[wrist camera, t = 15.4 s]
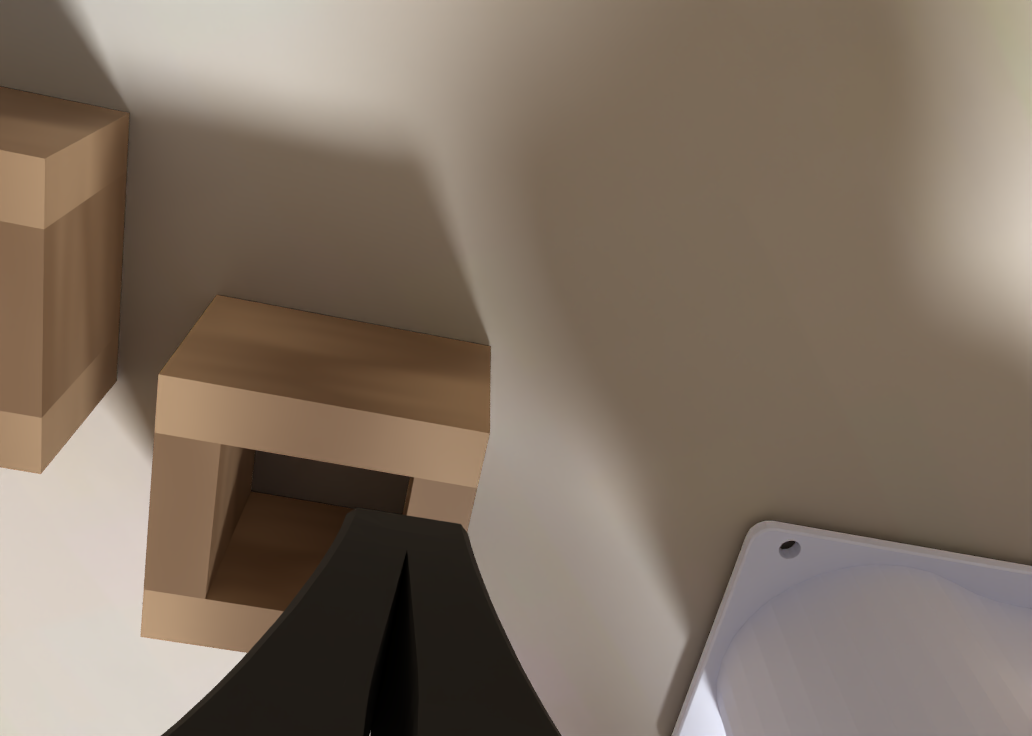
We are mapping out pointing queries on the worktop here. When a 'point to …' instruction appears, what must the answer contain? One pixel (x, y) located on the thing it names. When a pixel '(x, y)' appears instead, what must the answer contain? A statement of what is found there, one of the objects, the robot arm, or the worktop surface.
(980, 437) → the worktop surface
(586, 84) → the worktop surface
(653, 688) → the worktop surface
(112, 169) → the block
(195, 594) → the block
